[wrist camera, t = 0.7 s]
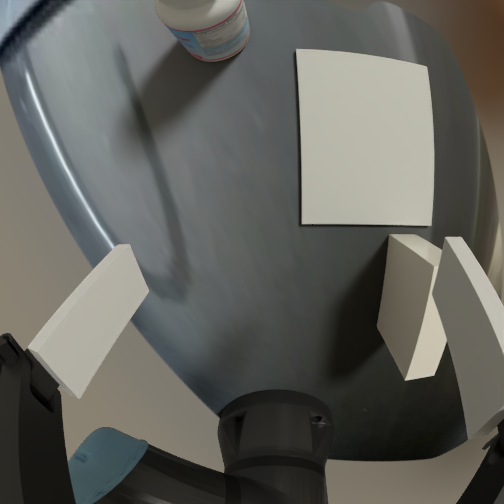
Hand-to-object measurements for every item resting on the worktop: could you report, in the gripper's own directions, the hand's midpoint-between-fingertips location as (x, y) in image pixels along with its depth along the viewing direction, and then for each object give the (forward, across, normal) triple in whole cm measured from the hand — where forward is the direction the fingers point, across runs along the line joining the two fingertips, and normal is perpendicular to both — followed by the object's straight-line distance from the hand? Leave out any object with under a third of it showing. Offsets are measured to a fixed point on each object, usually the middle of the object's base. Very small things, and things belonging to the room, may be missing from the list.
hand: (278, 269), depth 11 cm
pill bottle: (+18, +6, -13) cm, 23 cm away
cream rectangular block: (+14, -9, +12) cm, 21 cm away
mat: (+17, -6, -2) cm, 18 cm away
